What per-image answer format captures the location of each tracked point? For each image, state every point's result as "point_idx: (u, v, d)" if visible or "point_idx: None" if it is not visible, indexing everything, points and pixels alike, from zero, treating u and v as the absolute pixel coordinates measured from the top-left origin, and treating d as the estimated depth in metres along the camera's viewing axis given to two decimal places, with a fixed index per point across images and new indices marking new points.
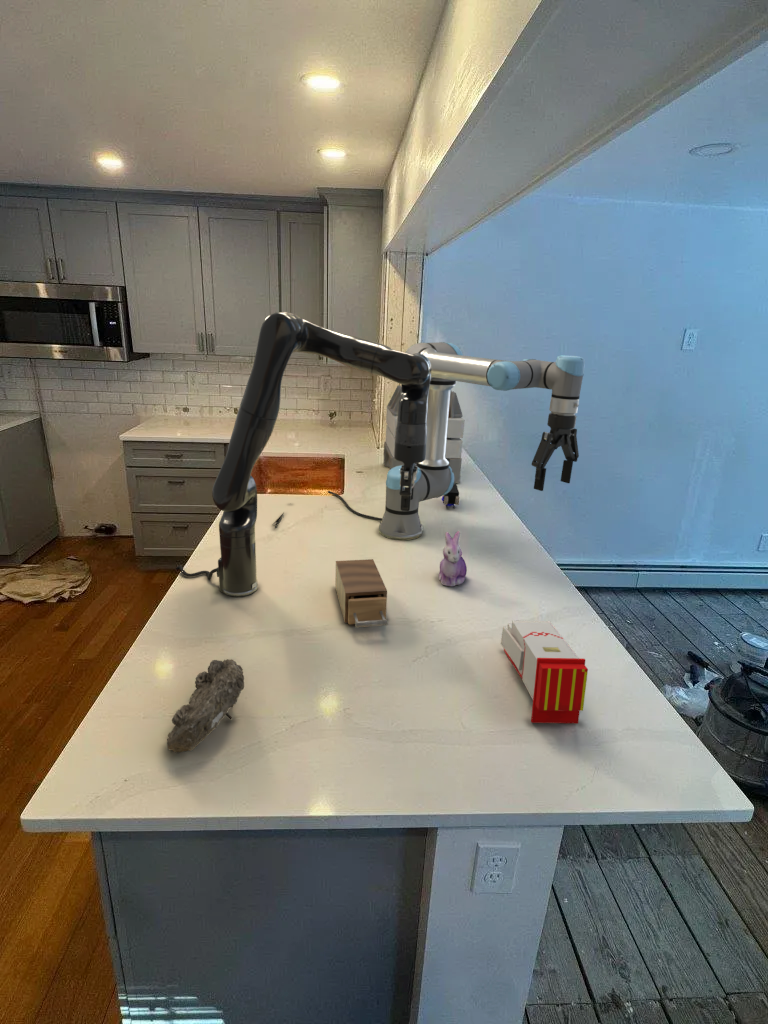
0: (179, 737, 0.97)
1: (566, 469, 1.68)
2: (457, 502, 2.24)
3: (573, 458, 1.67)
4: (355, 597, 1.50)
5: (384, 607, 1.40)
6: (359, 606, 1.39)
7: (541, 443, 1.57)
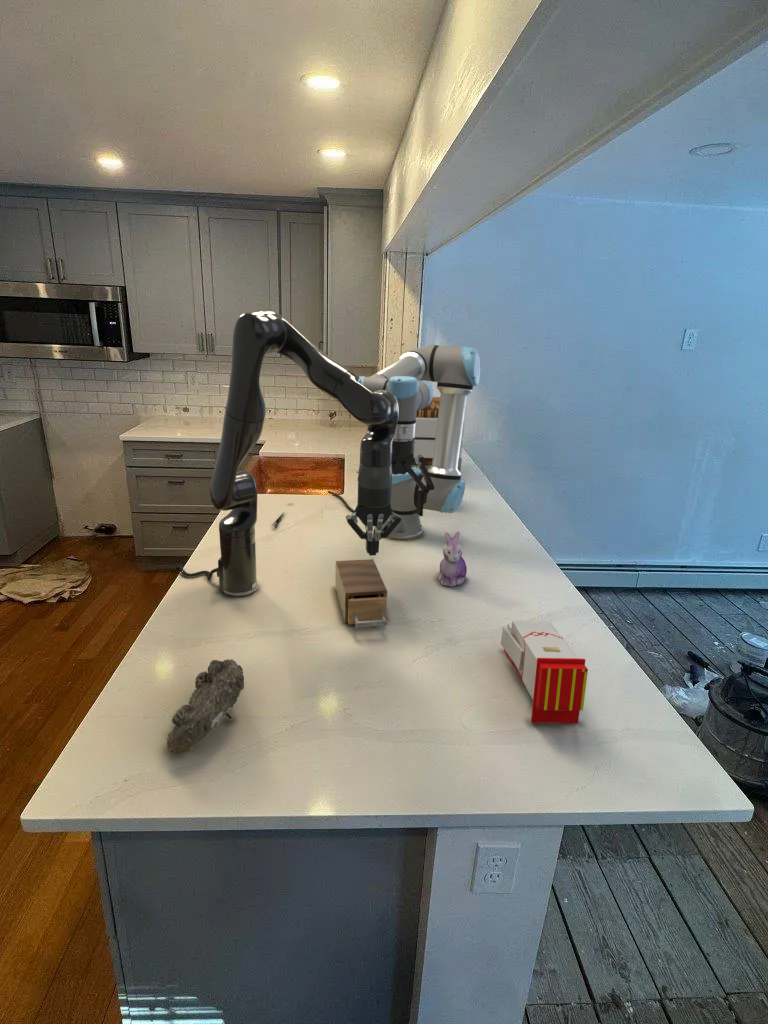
0: (179, 737, 0.97)
1: (419, 500, 1.53)
2: None
3: (424, 489, 1.51)
4: (355, 597, 1.50)
5: (384, 607, 1.40)
6: (359, 606, 1.39)
7: None
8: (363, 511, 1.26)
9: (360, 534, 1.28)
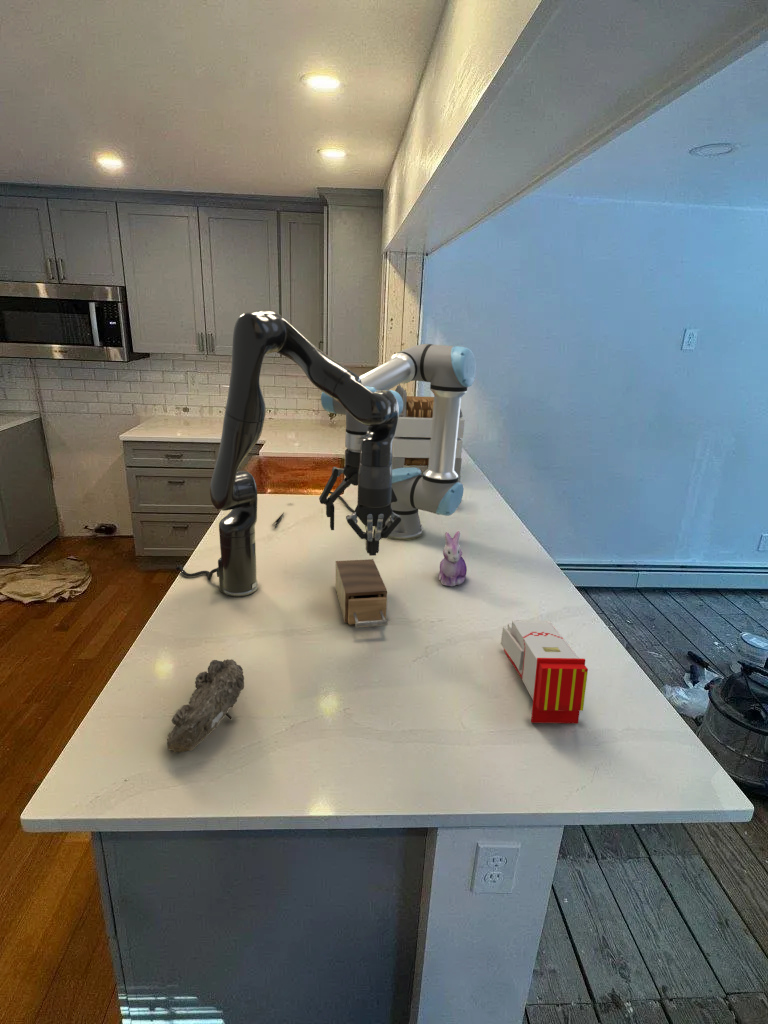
0: (179, 737, 0.97)
1: None
2: None
3: None
4: (355, 597, 1.50)
5: (384, 607, 1.40)
6: (359, 606, 1.39)
7: None
8: (363, 511, 1.26)
9: (360, 534, 1.28)
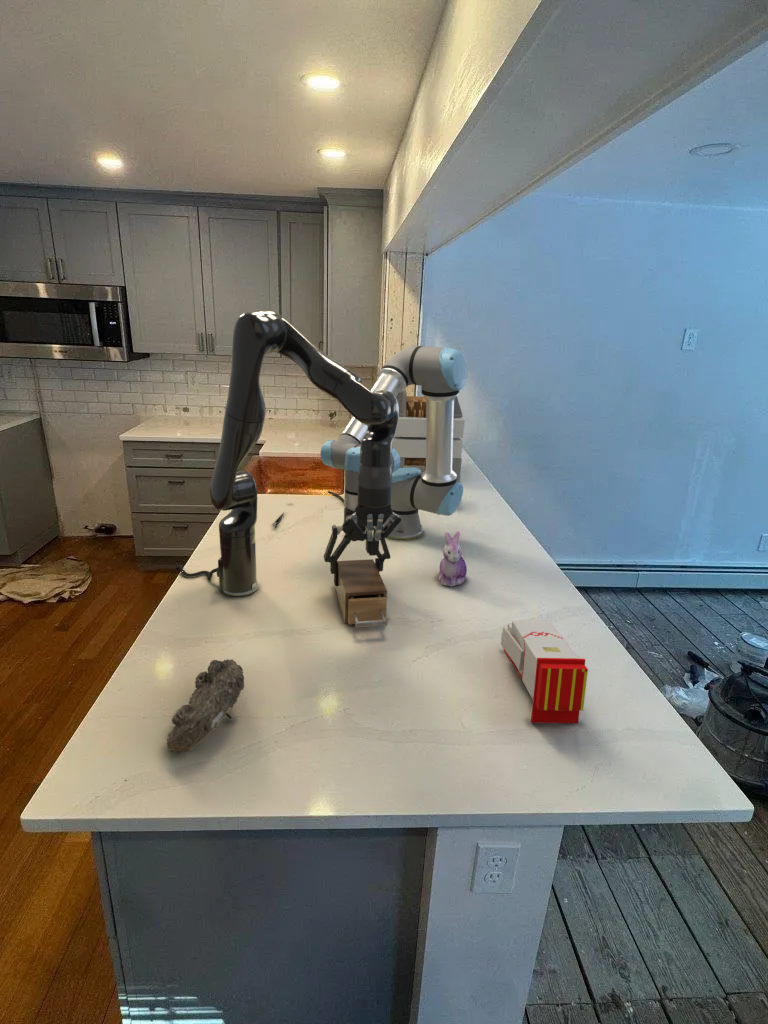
0: (179, 737, 0.97)
1: None
2: None
3: (380, 558, 1.53)
4: (355, 597, 1.50)
5: (384, 607, 1.40)
6: (359, 606, 1.39)
7: (330, 537, 1.50)
8: (363, 511, 1.26)
9: (360, 534, 1.28)
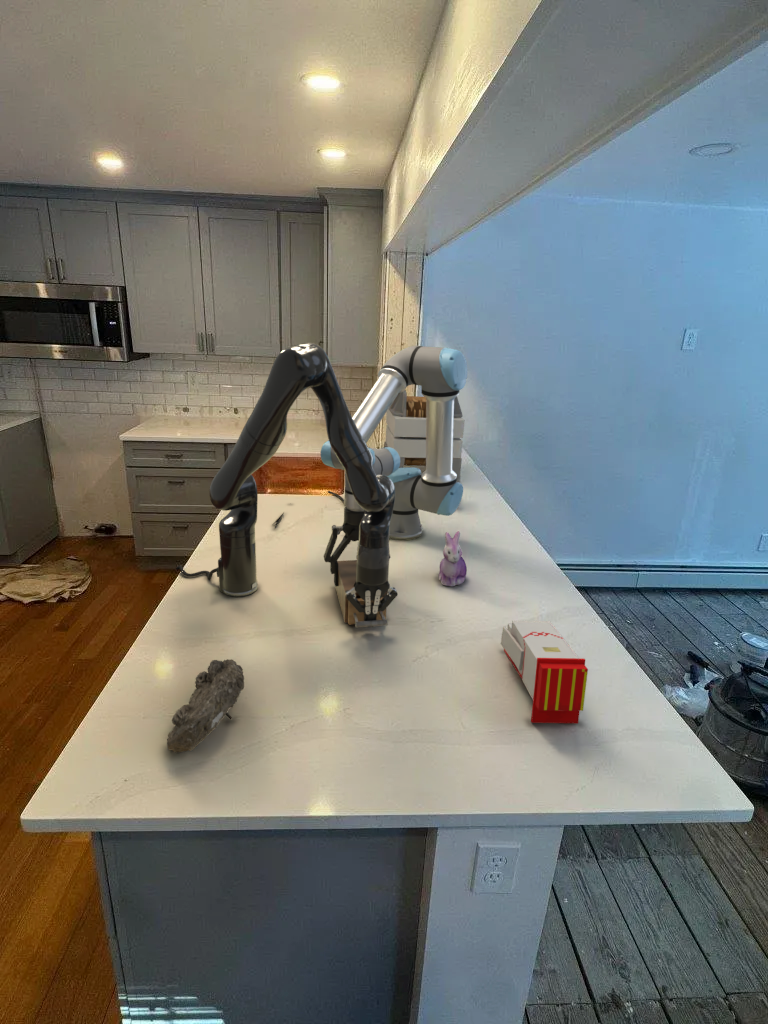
0: (179, 737, 0.97)
1: None
2: None
3: None
4: None
5: None
6: None
7: (330, 537, 1.50)
8: (361, 587, 1.32)
9: (358, 608, 1.34)
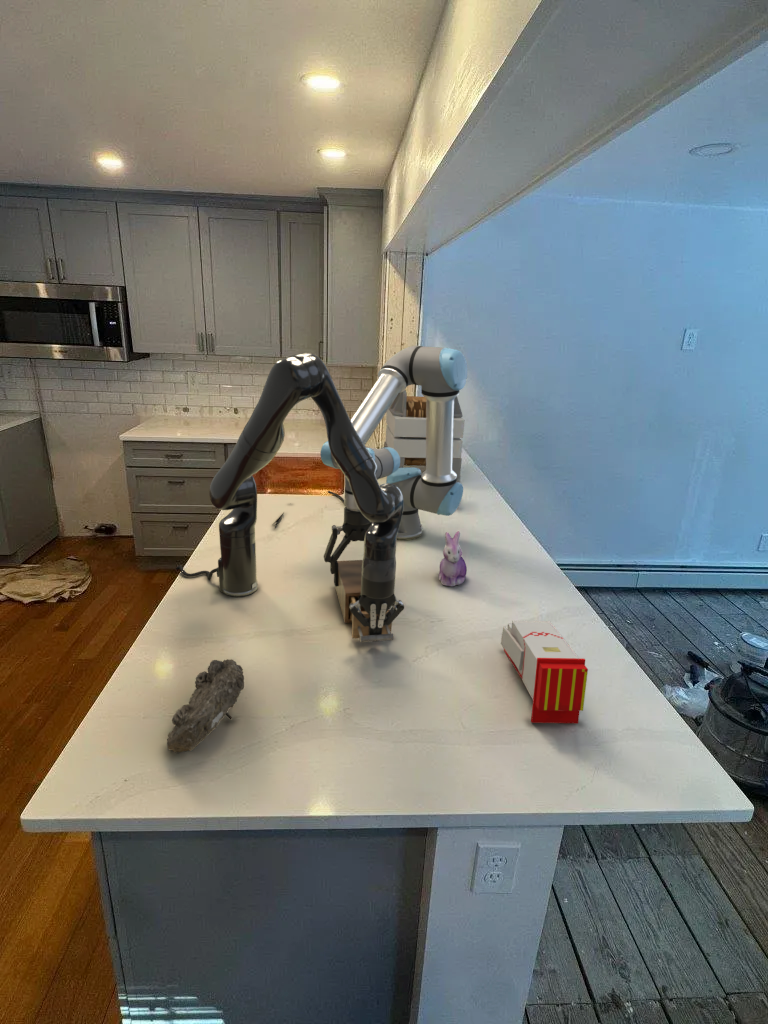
0: (179, 737, 0.97)
1: None
2: None
3: None
4: None
5: None
6: None
7: (330, 537, 1.50)
8: (366, 600, 1.26)
9: (363, 622, 1.28)
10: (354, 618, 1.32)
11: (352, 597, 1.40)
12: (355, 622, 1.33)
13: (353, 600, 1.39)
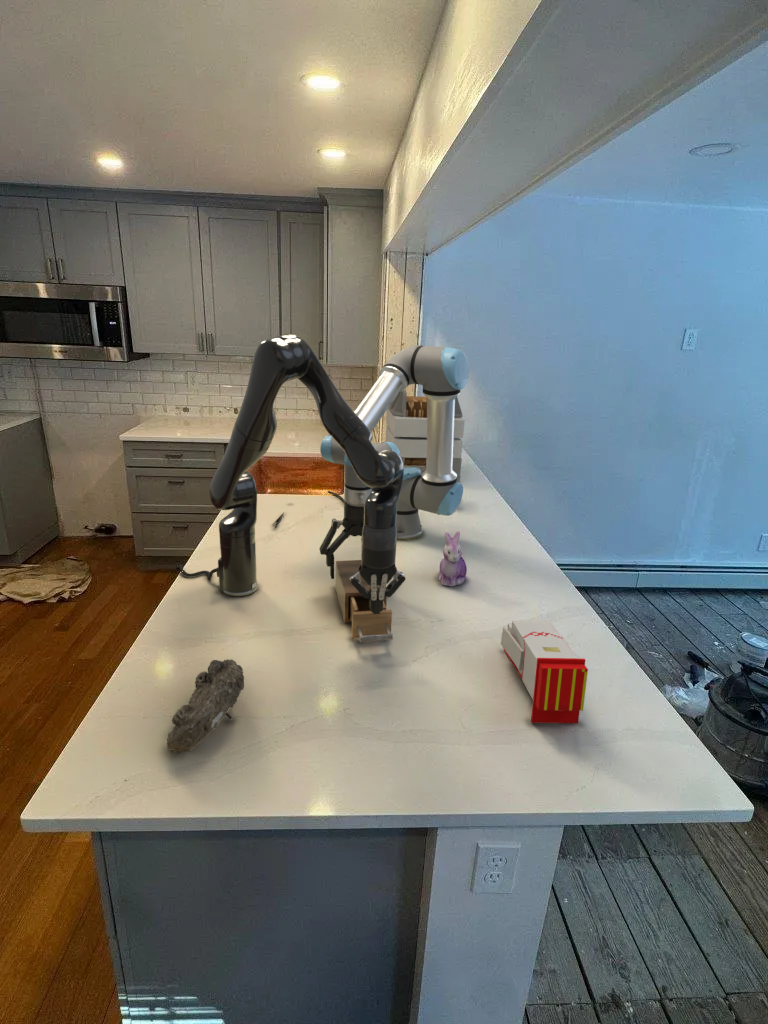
0: (179, 737, 0.97)
1: None
2: None
3: None
4: (359, 609, 1.45)
5: (389, 620, 1.34)
6: (363, 619, 1.33)
7: (329, 530, 1.50)
8: (367, 571, 1.24)
9: (363, 593, 1.25)
10: (354, 618, 1.32)
11: (352, 597, 1.40)
12: (355, 622, 1.33)
13: (353, 600, 1.39)
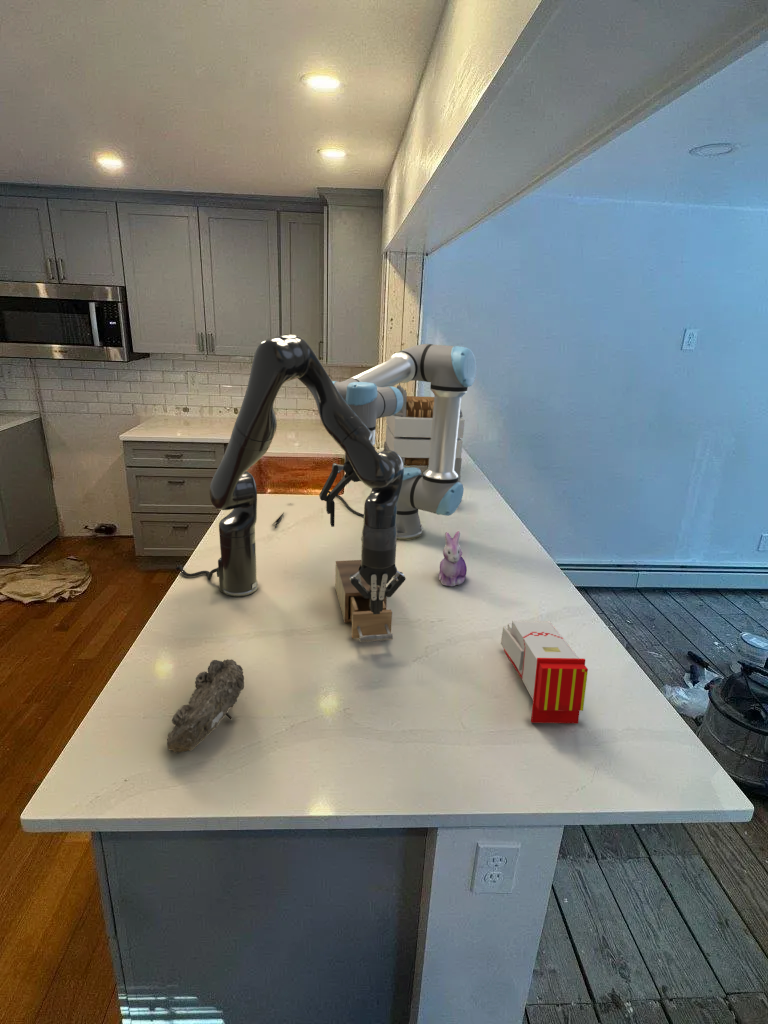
0: (179, 737, 0.97)
1: None
2: None
3: None
4: (359, 609, 1.45)
5: (389, 620, 1.34)
6: (363, 619, 1.33)
7: (330, 475, 1.44)
8: (367, 571, 1.24)
9: (363, 593, 1.25)
10: (354, 618, 1.32)
11: (352, 597, 1.40)
12: (355, 622, 1.33)
13: (353, 600, 1.39)
